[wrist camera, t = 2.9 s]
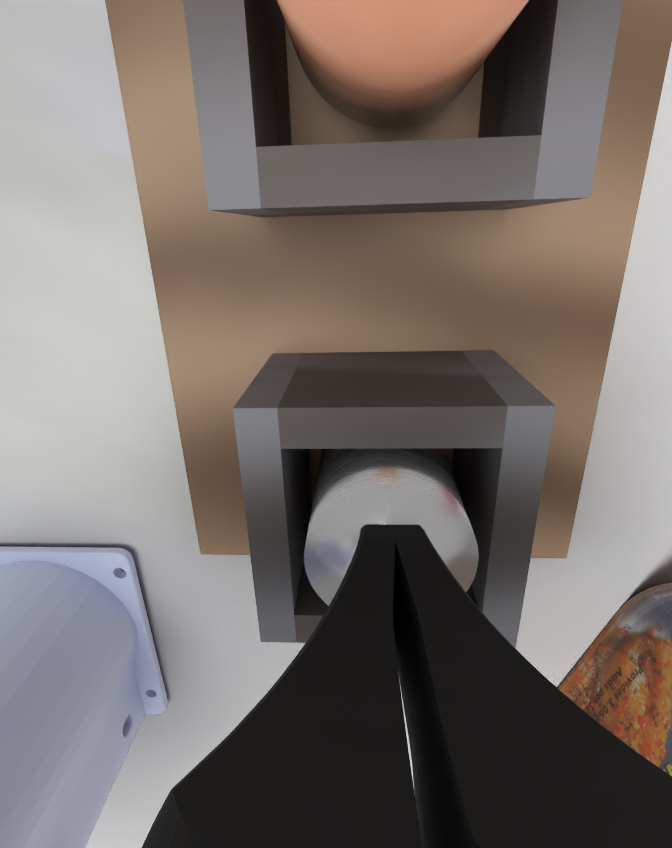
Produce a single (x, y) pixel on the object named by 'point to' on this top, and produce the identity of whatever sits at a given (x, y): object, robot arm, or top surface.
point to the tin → (631, 676)
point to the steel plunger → (385, 510)
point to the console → (387, 272)
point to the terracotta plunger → (394, 52)
